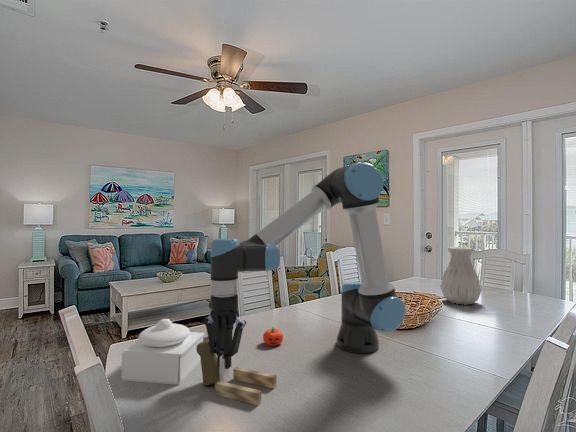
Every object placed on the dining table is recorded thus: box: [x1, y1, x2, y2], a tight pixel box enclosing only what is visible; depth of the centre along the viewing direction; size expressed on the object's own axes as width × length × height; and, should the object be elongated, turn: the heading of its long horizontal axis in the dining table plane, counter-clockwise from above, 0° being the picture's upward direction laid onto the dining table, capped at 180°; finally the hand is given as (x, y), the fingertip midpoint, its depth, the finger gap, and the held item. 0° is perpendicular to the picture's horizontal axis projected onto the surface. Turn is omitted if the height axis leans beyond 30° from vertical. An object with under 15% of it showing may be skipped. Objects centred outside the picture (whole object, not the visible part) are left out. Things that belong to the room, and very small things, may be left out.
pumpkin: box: [262, 326, 284, 347], centre depth 125 cm, size 7×8×6 cm
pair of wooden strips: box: [214, 366, 277, 406], centre depth 92 cm, size 13×10×3 cm
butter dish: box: [121, 318, 206, 386], centre depth 104 cm, size 18×18×16 cm
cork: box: [196, 339, 220, 386], centre depth 96 cm, size 6×6×11 cm
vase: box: [440, 246, 482, 306], centre depth 186 cm, size 20×20×30 cm
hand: (224, 379), depth 94 cm, fingers closed
